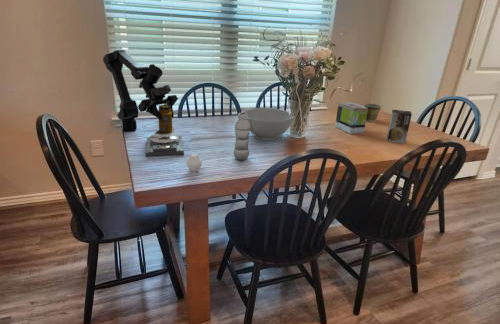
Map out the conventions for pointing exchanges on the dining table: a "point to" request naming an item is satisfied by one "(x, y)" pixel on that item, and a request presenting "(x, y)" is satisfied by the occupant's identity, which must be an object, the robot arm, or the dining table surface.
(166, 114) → the condiment
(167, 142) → the scale pan
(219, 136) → the dining table surface
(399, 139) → the coffee box
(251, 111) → the decorative bowl
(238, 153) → the plastic bottle
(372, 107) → the ceramic cup
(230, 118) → the dining table surface
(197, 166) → the white egg shape
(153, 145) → the scale base
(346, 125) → the tea box
